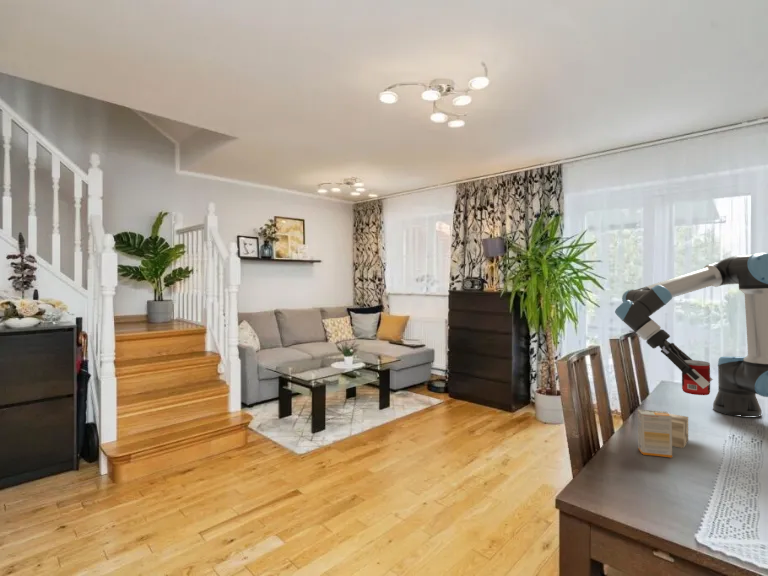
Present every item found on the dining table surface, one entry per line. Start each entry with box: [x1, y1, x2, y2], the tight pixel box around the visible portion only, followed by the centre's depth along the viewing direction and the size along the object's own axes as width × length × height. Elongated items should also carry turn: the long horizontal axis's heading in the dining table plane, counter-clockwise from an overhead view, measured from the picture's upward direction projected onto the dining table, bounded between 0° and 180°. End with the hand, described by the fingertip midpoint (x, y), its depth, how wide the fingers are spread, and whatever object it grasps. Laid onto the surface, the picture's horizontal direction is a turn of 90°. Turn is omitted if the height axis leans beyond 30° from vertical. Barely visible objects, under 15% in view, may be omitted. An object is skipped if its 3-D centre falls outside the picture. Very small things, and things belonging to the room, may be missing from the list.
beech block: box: [669, 413, 689, 449], centre depth 139 cm, size 10×10×8 cm
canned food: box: [681, 359, 711, 396], centre depth 145 cm, size 8×8×11 cm
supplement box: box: [637, 409, 673, 459], centre depth 128 cm, size 8×5×13 cm, turn 71°
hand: (708, 383), depth 143 cm, fingers closed on canned food, 8 cm apart
